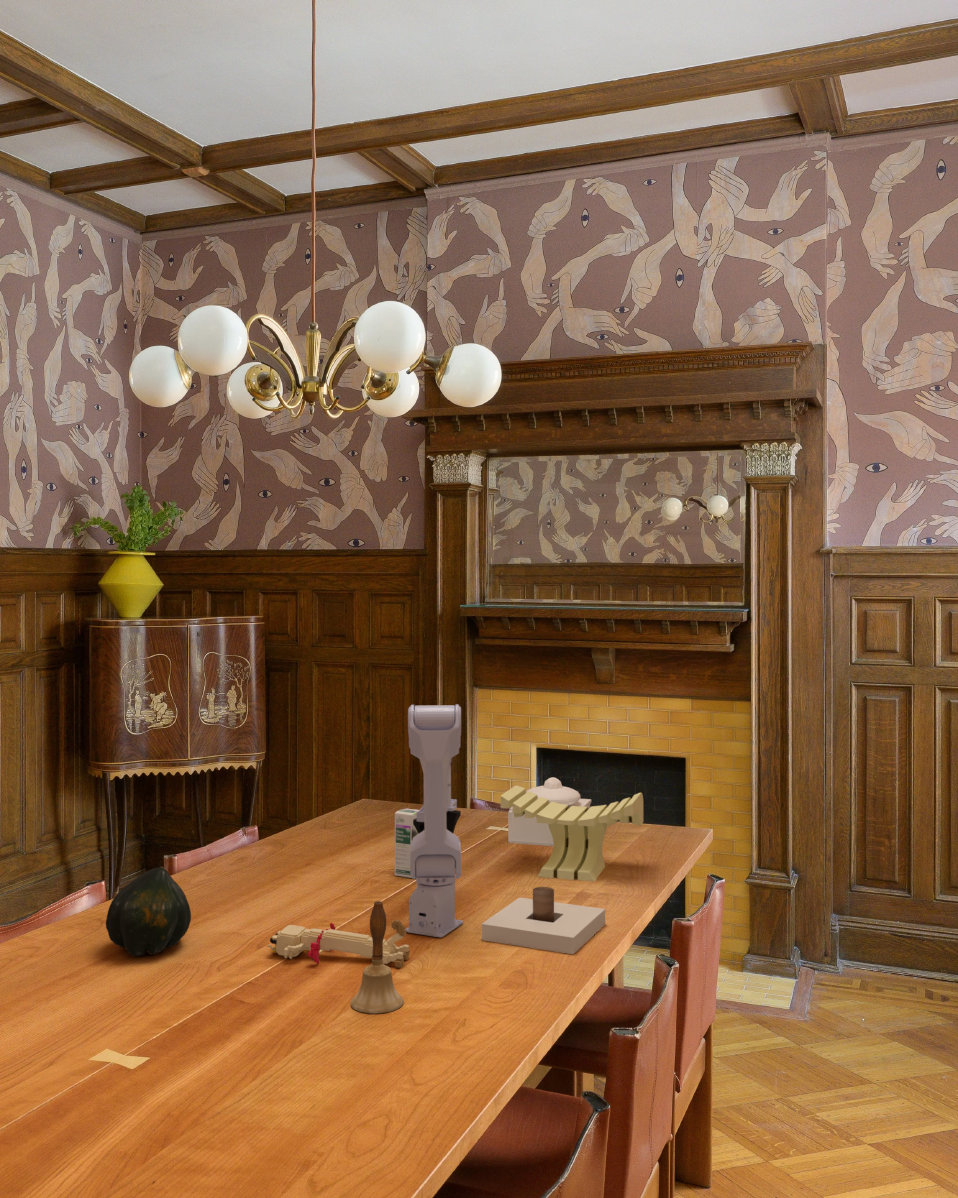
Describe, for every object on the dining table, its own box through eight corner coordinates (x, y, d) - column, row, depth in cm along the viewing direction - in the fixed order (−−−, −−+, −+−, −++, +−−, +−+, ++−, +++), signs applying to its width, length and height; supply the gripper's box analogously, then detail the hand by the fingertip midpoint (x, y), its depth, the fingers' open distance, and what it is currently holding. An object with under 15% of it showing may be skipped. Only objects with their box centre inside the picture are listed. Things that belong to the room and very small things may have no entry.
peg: (547, 937, 194) (547, 894, 194) (529, 933, 196) (528, 891, 196) (557, 931, 198) (557, 889, 197) (539, 927, 200) (539, 885, 200)
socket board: (573, 954, 185) (573, 937, 185) (481, 940, 193) (481, 924, 193) (605, 924, 201) (605, 909, 201) (519, 912, 209) (519, 897, 209)
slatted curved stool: (643, 866, 243) (643, 789, 243) (632, 884, 228) (632, 803, 228) (519, 856, 252) (519, 783, 252) (500, 873, 237) (500, 795, 237)
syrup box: (393, 876, 235) (393, 812, 235) (407, 869, 240) (407, 807, 240) (415, 879, 233) (415, 814, 232) (428, 873, 238) (428, 809, 238)
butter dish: (508, 843, 265) (508, 781, 265) (527, 828, 282) (527, 769, 282) (575, 848, 260) (575, 785, 260) (591, 832, 277) (591, 772, 277)
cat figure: (411, 961, 186) (280, 940, 191) (415, 913, 186) (283, 893, 191) (395, 982, 176) (258, 959, 181) (399, 931, 176) (261, 910, 181)
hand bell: (377, 989, 169) (376, 891, 169) (414, 1002, 164) (414, 901, 164) (339, 1005, 163) (339, 903, 163) (377, 1019, 158) (376, 914, 158)
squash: (86, 936, 179) (147, 866, 182) (94, 913, 193) (150, 849, 196) (151, 985, 182) (210, 916, 184) (154, 959, 196) (209, 895, 199)
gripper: (438, 792, 209) (438, 859, 209) (469, 780, 222) (469, 843, 223) (407, 789, 212) (407, 856, 212) (440, 777, 225) (440, 840, 226)
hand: (437, 849), depth 218 cm, fingers open, 7 cm apart
